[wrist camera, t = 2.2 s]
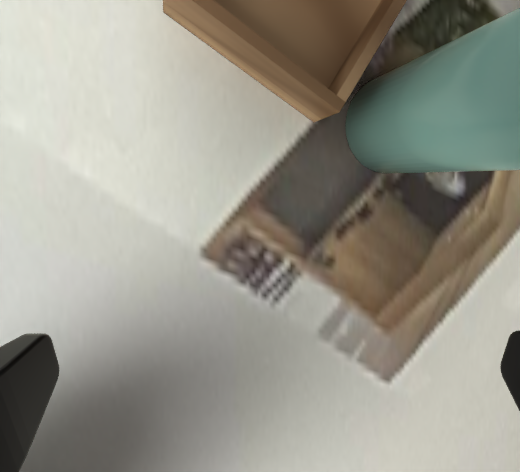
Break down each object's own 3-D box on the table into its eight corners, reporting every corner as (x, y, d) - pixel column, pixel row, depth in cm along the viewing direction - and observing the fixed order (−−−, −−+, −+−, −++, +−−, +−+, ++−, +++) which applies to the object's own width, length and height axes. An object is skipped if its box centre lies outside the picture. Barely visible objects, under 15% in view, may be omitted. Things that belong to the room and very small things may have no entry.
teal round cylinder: (384, 192, 20) (690, 211, 8) (327, 122, 19) (591, 26, 7) (445, 129, 21) (826, 59, 9) (393, 55, 19) (755, -147, 7)
